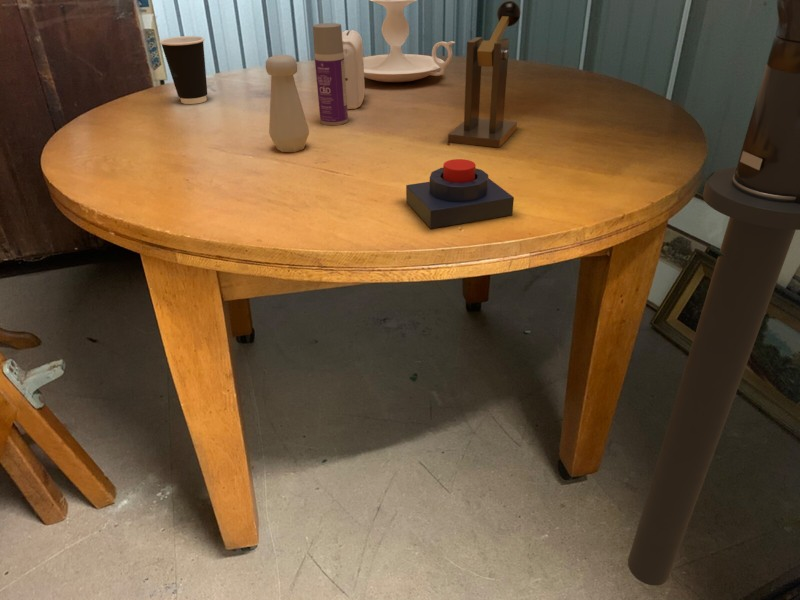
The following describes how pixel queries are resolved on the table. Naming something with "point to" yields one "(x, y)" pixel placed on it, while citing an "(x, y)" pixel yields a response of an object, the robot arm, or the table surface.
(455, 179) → the release button
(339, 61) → the container
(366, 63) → the candlestick
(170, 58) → the dixie cup
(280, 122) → the salt shaker
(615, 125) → the table surface
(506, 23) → the lock lever
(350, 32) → the photo printer
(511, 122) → the lever stand
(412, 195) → the button housing
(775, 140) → the robot arm
